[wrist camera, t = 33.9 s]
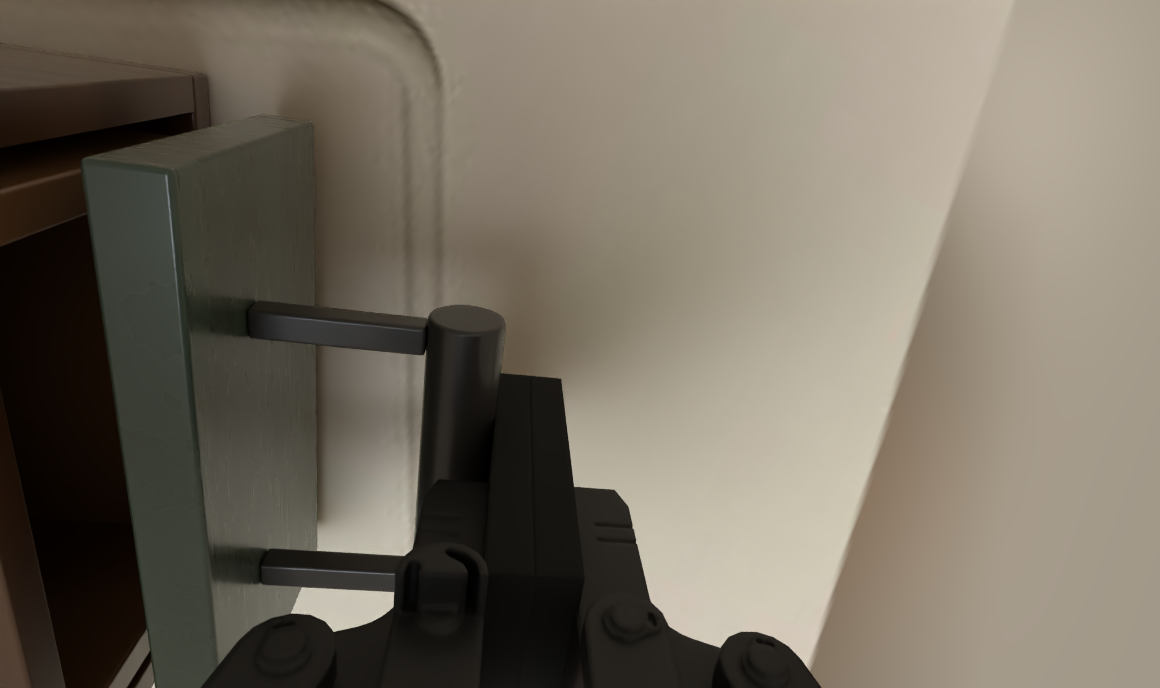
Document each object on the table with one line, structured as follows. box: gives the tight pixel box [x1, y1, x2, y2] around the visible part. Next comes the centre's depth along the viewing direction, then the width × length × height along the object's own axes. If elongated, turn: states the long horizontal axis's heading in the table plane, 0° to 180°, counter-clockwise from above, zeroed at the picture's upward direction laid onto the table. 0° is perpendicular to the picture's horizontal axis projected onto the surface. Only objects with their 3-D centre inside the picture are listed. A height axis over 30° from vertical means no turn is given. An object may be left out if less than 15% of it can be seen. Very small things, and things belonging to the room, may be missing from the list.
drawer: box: [0, 114, 506, 688], centre depth 14 cm, size 19×12×7 cm, turn 81°
